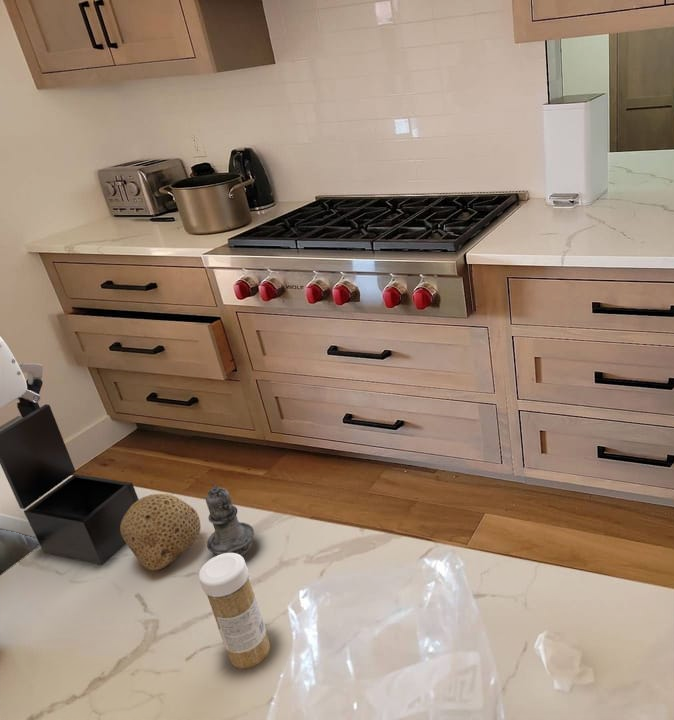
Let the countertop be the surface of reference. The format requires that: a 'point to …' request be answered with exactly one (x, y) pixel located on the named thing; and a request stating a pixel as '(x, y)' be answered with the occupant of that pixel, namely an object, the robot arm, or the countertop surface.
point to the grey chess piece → (226, 525)
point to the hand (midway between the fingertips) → (6, 447)
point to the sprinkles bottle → (235, 609)
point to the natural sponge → (159, 529)
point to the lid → (33, 455)
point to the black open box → (82, 518)
